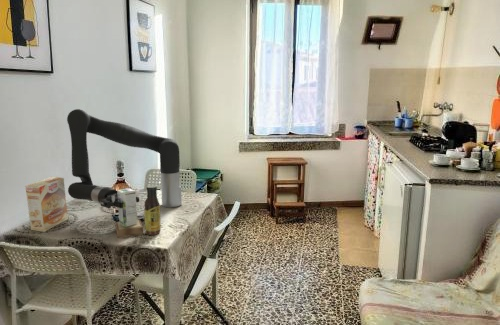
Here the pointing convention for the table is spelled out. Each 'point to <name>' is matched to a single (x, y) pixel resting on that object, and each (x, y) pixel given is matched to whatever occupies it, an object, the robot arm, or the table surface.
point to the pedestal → (129, 229)
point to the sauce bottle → (152, 211)
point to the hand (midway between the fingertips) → (130, 202)
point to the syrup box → (127, 207)
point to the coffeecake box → (46, 203)
